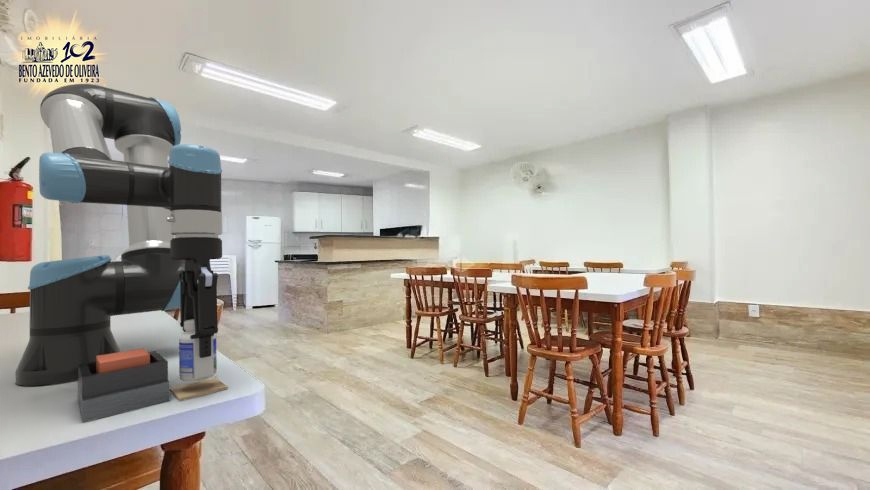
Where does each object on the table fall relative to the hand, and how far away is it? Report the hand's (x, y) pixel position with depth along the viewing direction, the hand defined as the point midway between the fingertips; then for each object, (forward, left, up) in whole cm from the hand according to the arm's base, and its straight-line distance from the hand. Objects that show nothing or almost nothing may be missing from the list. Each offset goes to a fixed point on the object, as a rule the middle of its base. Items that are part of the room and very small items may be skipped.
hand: (198, 372), depth 63 cm
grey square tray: (-4, -10, -3) cm, 11 cm away
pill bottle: (0, 0, -1) cm, 1 cm away
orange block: (-4, -10, -1) cm, 10 cm away
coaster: (0, 0, -3) cm, 3 cm away
